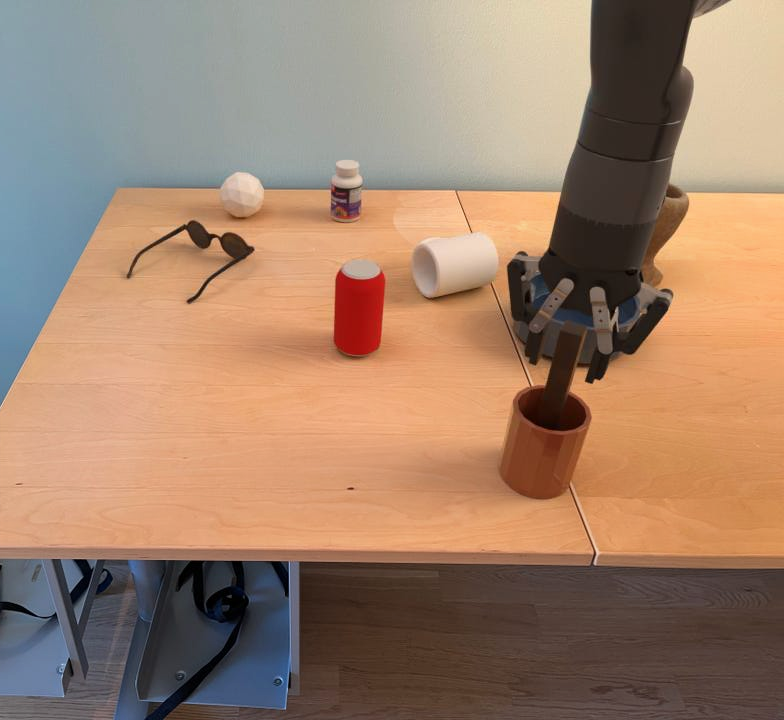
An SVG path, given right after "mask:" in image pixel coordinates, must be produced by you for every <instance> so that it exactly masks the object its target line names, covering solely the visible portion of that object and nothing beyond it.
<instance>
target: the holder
mask: <svg viewBox="0 0 784 720" xmlns="http://www.w3.org/2000/svg"><path fill="white" fill-rule="evenodd" d="M545 386H546V384H545V385H544V384H537V385H531V386H527V387H524V388H523V389H521V390H519V391H517V393H516V394H515V396H514V398H513V399H512V401H511V402H512V403H511V407H510V411H509V416H508V419H507V424H506V429H505V433H504V437H503V442H502V446H501V450H500V455H499V459H498V473H499V475H500V477H501V479H502V480H503V482H504V483H505V485H507V486H508V487H509V488H511V489H512V490H513V491H515V492H517V493H518V494H521V495H523V496H524V497H528V498H532V499H538V500H547V499H553V498H558V497H560V496H562V495H563V494H564V493H566V492H567V490H568V489H569V488H570V485H571V482H572V480H573V477H574V476H575V475H574V474H575V471H576V468H577V466H578V462H579V459H580V456H581V453H582V450H583V447H584V444H585V441H586V438H587V435H588V432H589V428H590V426H591V423H592V419H593V417H592V413H591V409H590V407H589V405H587V404H588V403H586V402H585V401H584V399H582V398H581V397H580V396H578V395H576V394H575V393H573V392H572V391H571V390H570V391H569V394H568V397H567V401H566V404H565V408H564V411H563V415H562V418H561V421H560V425H559V428H558V431H554V430H548V429H545V428H542V427H539V426H537V425H535V423H536V420H537V416H538V412H539V408H540V405H541V401H542V397H543V393H544V389H545Z"/></svg>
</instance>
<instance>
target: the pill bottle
mask: <svg viewBox="0 0 784 720" xmlns="http://www.w3.org/2000/svg"><path fill="white" fill-rule="evenodd" d="M334 171H335V174H333V175H332V177H331V182H330V217H331V218H332V220H334V221H336V222H341V223H353V222H356V221H358V220H359V219H360V218H361V214H362V200H363V199H362V198H363V197H362V196H363V195H362V194H363V177H362V176H361V174H359V173H360V164H359V162H358V161H356V160H353V159H341V160H338V161H336V163H335V170H334Z"/></svg>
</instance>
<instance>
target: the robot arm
mask: <svg viewBox="0 0 784 720" xmlns="http://www.w3.org/2000/svg"><path fill="white" fill-rule="evenodd" d="M731 1H732V0H591V1H590V3H591V4H590V29H589V32H590V33H589V68H590V86H589V89H588V92H587V96H586V99H585V103H584V108H583V112H582V116H581V121H580V126H579V128H578V134H577V138H576V142H575V145H574V148H573V151H572V153H571V156H570V158H569V160H568V164H567V167H566V170H565V174H564V179H563V182H562V187H561V190H560V191H561V192H560V195H559V200H558V204H557V209H556V213H555V217H554V221H553V226H552V230H551V235H550V239H549V243H548V248H547V250H546V251H544V253H543V254H542V255H539V256H538V255H529V254H528V253H527V252H526V251H524V250H520V251H518V252H516V253H515V255H514V256H513V257H512V259H511V260H510V261H509V262H508V263H507V265H506V273H507V283H508V285H507V286H508V295H509V305H510V315H511V318H512V320H513V319H514V320H515V321H522V322H524V323H525V324H526V325H527V326H528V328H529V333H528V337H527V341H526V343H525V346H524V351H523V352H524V357H526V358H529V359H528V364H529V365H532V366H534V367H535V366H537V365H538V363H539V362H540V360H541V358H542V357H543V354H542V353H543V350H544V346H545V342H546V338H547V334H548V330H549V326H550V324H547V323H548V321H549V320H550V318H551V317H552V316H553V315H554V313H555V312H556V311H557V309H558V308H563V309H566V310H577V311H579V312H581V313H583V314H585V315H587V316H591V317H593V320H594V329H595V331H596V333H597V342H598V344H597V346H596V348H595V350H594V353H593V356H592V359H591V362H590V363H589V366H588V369H587V372H586V376H585V378H584V383H587V384H590V385H593V384H594V382H595V380H596V381H600V382H601V380H602V379H603V378H605V375H606V373H607V370H608V368H609V365H610V362H611V360H610V359H611V356H612V353H614V352H623V353H624V354H623V355H626V356H633V355H635V353H636V352H638V349H639V348H640V347H641V346H642V344H643V343H644V342H645V341H646V340H647V338H648V337H649V336H650V334H651V333H652V332H653V331H654V329H655V328H656V327H657V326H658V325H659V323H660V322H661V320H662V319H663V318H664V316H666V314H667V312H668V311H669V309H670V306H671V304H672V302H673V298H674V292H673V290H671V289H669V288H665V287H664V288H661V289H658V288H656V287H652V286H650V285H648V284H646V283H644V278H643V274H642V264H643V261H644V258H645V255H646V252H647V249H648V245H649V242H650V239H651V236H652V233H653V230H654V227H655V224H656V221H657V218H658V215H659V212H660V209H661V207H662V205H663V204H664V201H665V198H666V190H667V187H668V184H669V183H670V180H671V174H672V169H673V162H674V157H675V155H676V150H677V147H678V144H679V141H680V138H681V135H682V132H683V128H684V126H685V123H686V119H687V116H688V113H689V110H690V108H691V103H692V99H693V96H694V95H693V94H694V88H695V80H694V76H693V74H692V71H690V70H689V69H688V68H687V67H686V66H685V65H684V60H685V59H684V58H685V53H686V48H687V43H688V39H689V34H690V30H691V26H692V22H693V20H694V19H696V18H699V17H702V16H704V15H707V14H709V13H711V12H713V11H716V10H717V9H719V8H721V7H722V6H725V5H726V4H728V3H730V2H731ZM537 271H540V273H541V275H542V277H543V279H544V281H545V283H546V286H547V288H548V290H549V292H550V295H549V297H548V298H547V300H546V301H545V302H544V304H543V305H542V307H541V308H540V309H538V308H537V307H535V306H534V305H532V292H531V279H532V278H533V276H534V275H535V273H536V272H537ZM634 296H637V297H638V298H639V300H640V303H639V306H638V309H639V311H640V312H641V315H640V317H639V318H638V320H637V321H636V322H635V324H634V325H633V326H632V328H631V329H630V330H629V332H619V330H618V306H620V305H621V304H623V303H624V302H626V301H628V300H629V299H631V298H632V297H634Z"/></svg>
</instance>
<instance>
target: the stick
mask: <svg viewBox="0 0 784 720" xmlns="http://www.w3.org/2000/svg"><path fill="white" fill-rule="evenodd" d="M587 329H588V326H585V325H582V324H578V323H575V322H571V321H568V320H566V321H565V323H564V325H563V326H562V328H561V330H560V332H559V336H558V340H557V344H556V348H555V351H554V355H553V357H552V360H551V363H550V367H549V371H548V375H547V378H546V383H545V385H546V386H545V389H544V393H543V397H542V401H541V405H540V408H539V412H538V416H537V420H536V423H535V425H537V426H539V427H542V428H545V429H548V430H554V431H558V428H559V425H560V421H561V418H562V415H563V411H564V408H565V404H566V401H567V397H568V394H569V391H570V392H571V387H572V385H573V380H574V377H575V373H576V371H577V366H578V364H579V363H578V360H579V356H580V353H581V349H582V346H583V343H584V339H585V336H586V332H587Z"/></svg>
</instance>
